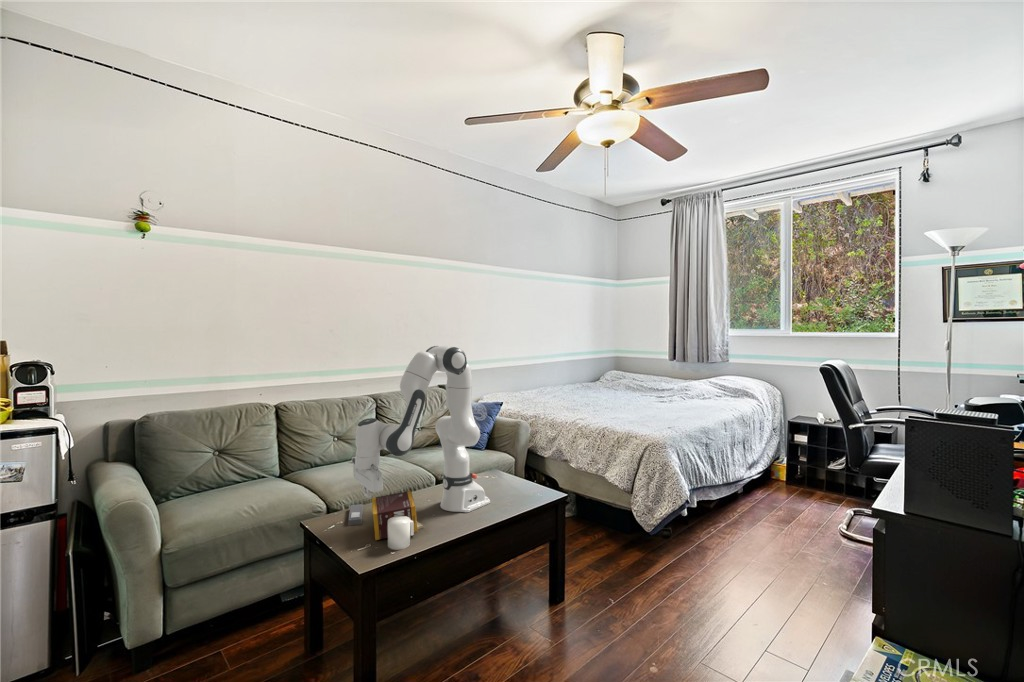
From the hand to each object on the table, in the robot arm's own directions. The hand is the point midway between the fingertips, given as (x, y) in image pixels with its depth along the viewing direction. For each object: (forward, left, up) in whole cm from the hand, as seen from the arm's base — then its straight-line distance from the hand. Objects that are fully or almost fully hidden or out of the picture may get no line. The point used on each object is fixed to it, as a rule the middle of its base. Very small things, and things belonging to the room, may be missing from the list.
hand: (368, 497), depth 182 cm
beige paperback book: (-13, 0, -14) cm, 19 cm away
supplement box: (-1, +2, -8) cm, 8 cm away
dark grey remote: (-2, -17, -14) cm, 22 cm away
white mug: (-5, +16, -14) cm, 22 cm away
